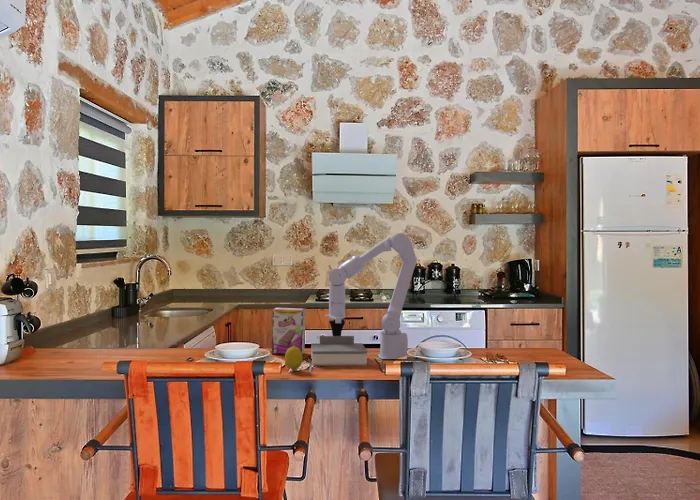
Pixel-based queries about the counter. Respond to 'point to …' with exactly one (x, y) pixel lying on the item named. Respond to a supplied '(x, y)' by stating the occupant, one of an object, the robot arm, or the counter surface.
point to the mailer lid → (337, 345)
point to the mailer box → (339, 359)
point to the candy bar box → (288, 329)
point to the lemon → (293, 358)
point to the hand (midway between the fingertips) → (336, 340)
